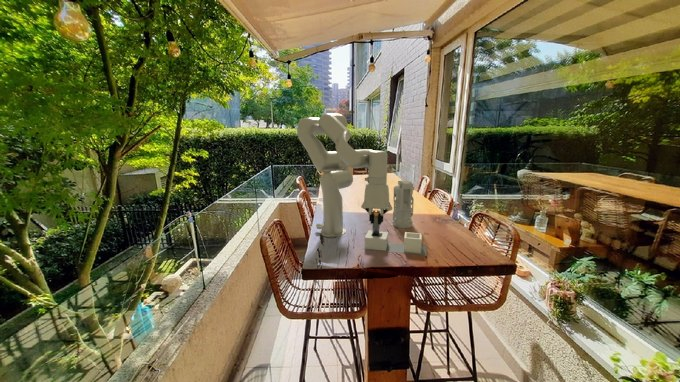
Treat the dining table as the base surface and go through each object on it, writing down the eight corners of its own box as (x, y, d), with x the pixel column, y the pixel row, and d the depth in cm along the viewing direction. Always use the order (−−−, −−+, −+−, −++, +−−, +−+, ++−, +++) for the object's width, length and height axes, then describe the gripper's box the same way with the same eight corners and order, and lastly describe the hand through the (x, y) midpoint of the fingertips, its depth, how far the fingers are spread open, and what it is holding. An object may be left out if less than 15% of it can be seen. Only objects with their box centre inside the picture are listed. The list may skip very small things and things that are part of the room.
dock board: (361, 251, 113) (362, 235, 111) (366, 242, 122) (366, 227, 120) (426, 258, 105) (427, 241, 104) (425, 247, 115) (426, 232, 113)
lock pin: (371, 236, 114) (372, 211, 112) (372, 233, 117) (373, 209, 114) (378, 237, 113) (379, 212, 111) (379, 234, 116) (380, 210, 114)
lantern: (391, 222, 149) (392, 178, 144) (410, 222, 148) (411, 177, 143) (395, 230, 136) (396, 182, 131) (415, 230, 136) (417, 182, 130)
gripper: (356, 181, 108) (355, 224, 112) (396, 183, 104) (394, 228, 108) (359, 178, 115) (359, 218, 119) (398, 180, 111) (396, 222, 115)
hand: (376, 222), depth 114 cm, fingers closed on lock pin, 3 cm apart
